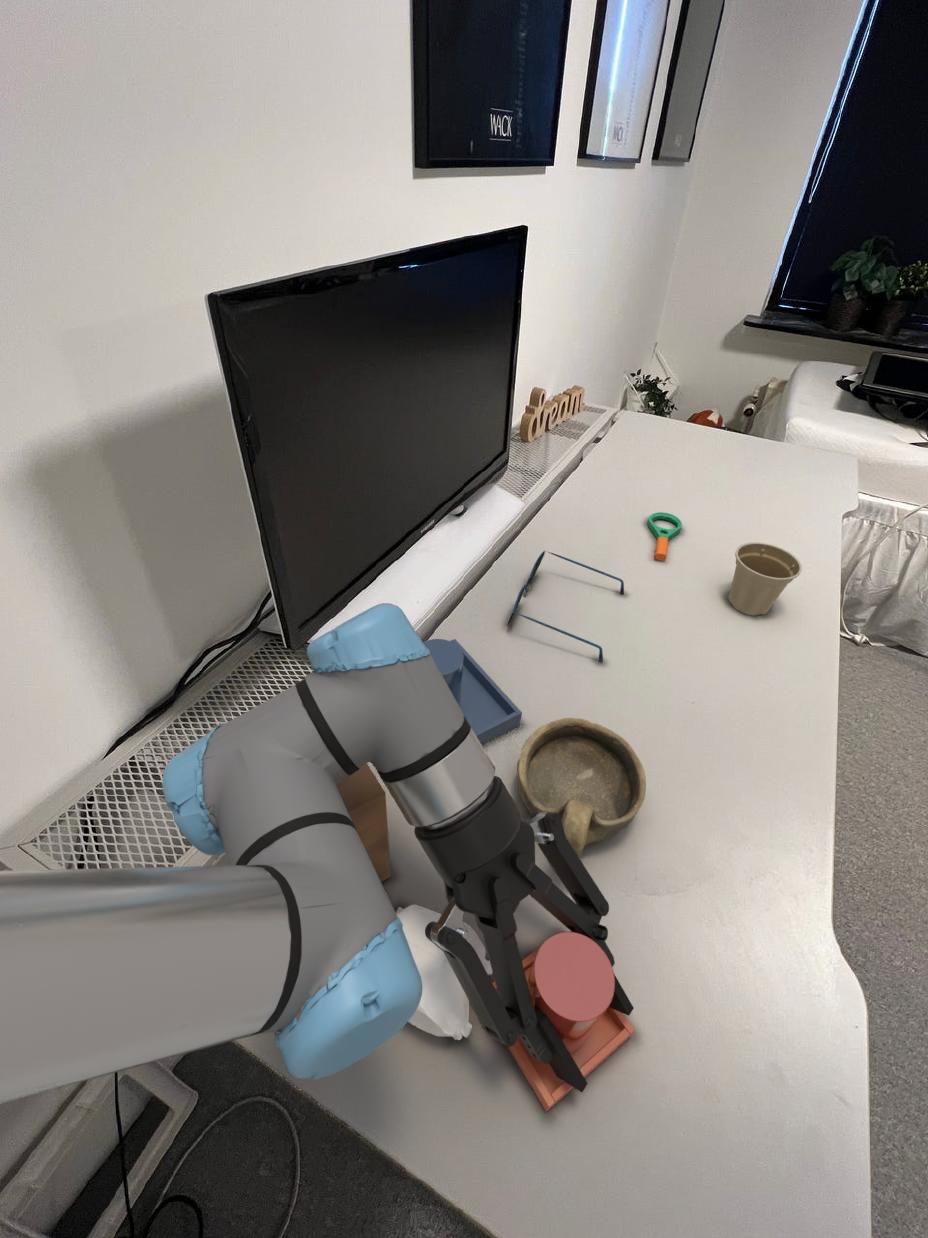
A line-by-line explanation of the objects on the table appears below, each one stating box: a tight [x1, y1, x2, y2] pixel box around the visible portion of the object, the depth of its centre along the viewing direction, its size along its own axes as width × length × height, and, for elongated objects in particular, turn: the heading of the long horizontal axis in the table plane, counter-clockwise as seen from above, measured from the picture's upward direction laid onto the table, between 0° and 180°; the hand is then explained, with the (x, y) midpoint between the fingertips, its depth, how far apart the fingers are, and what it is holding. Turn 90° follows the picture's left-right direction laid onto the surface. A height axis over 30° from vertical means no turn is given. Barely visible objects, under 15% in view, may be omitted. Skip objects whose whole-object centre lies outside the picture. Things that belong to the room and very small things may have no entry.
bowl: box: [516, 717, 647, 859], centre depth 62 cm, size 14×18×10 cm
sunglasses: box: [506, 550, 625, 663], centre depth 90 cm, size 17×15×5 cm
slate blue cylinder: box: [422, 638, 464, 707], centre depth 72 cm, size 6×6×9 cm
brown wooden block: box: [336, 763, 392, 883], centre depth 55 cm, size 12×12×15 cm
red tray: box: [491, 930, 636, 1113], centre depth 50 cm, size 9×9×2 cm
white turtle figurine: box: [395, 904, 493, 1041], centre depth 50 cm, size 9×8×15 cm
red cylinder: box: [527, 931, 615, 1053], centre depth 47 cm, size 6×6×9 cm
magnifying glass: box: [647, 511, 683, 561], centre depth 107 cm, size 15×6×2 cm, turn 162°
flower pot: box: [728, 541, 803, 617], centre depth 92 cm, size 9×9×9 cm
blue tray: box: [450, 638, 523, 746], centre depth 74 cm, size 15×15×2 cm
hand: (596, 1041), depth 47 cm, fingers closed on red cylinder, 6 cm apart
